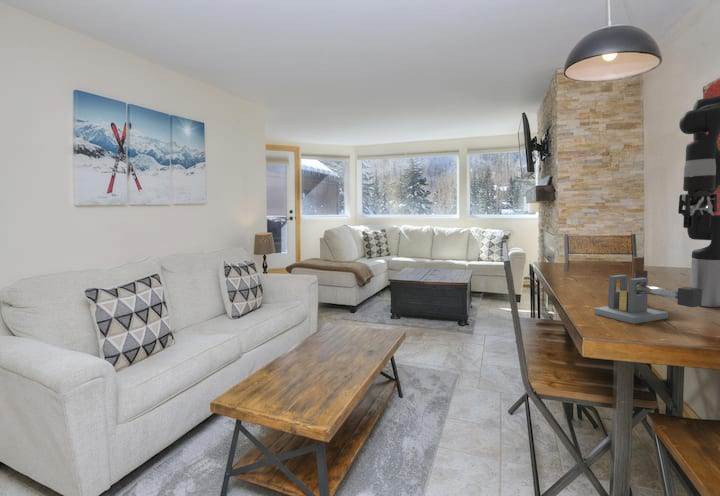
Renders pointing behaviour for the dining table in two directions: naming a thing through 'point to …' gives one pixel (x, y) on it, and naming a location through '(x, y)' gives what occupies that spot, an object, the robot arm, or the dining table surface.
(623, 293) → the spacer
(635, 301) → the bracket
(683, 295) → the shaft
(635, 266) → the wooden block
